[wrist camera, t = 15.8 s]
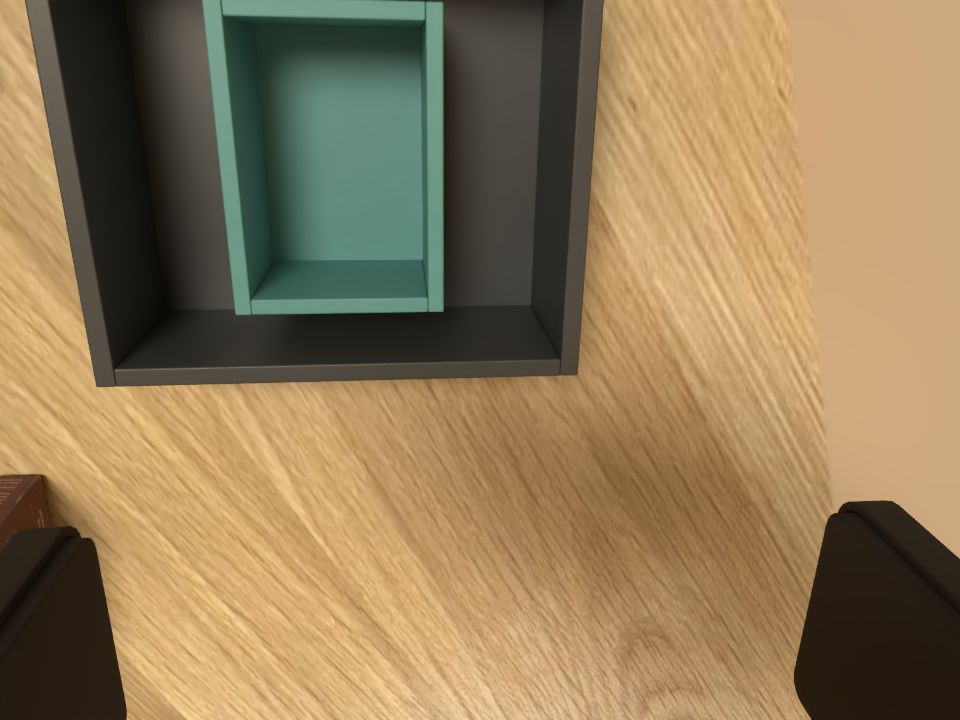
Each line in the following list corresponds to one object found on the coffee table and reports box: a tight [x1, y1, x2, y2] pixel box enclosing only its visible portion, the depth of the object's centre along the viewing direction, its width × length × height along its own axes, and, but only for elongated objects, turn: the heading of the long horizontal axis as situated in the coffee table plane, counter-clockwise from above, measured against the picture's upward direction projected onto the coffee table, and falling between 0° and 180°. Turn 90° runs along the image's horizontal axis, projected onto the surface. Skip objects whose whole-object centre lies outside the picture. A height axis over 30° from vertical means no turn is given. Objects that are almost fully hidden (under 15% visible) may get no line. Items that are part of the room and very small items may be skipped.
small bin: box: [202, 0, 444, 315], centre depth 25 cm, size 6×9×6 cm
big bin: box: [25, 0, 604, 387], centre depth 25 cm, size 15×13×6 cm
